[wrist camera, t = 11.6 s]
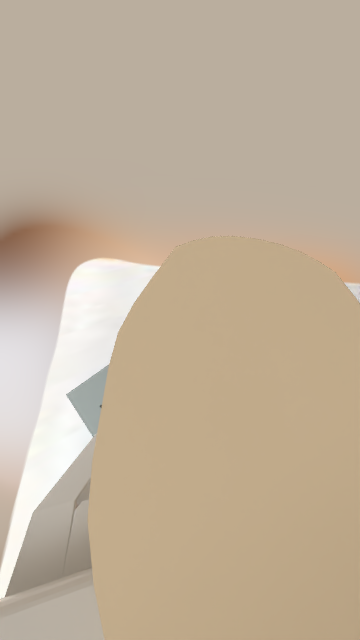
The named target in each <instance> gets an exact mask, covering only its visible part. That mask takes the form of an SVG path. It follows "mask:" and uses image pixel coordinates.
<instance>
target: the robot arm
mask: <svg viewBox="0 0 360 640" xmlns="http://www.w3.org/2000/svg"><path fill="white" fill-rule="evenodd" d="M96 436H97V433H96V434H95V436H94V437H93V438H92V439H91V441H90V442H89V443H88V444H87V446H86V447H85V448H84V449H83V451H82V452H81V453H80V454H79V456H78V457H77V458H76V459H75V461H74V462H73V463H72V464H71V466H70V467H69V468H68V469H67V471H66V472H65V473H64V474H63V476H62V477H61V478H60V479H59V481H58V482H57V483H56V484H55V486H54V487H53V488H52V490H51V491H50V492H49V493H48V495H47V496H46V497H45V498H44V500H43V501H42V502H41V503H40V505H39V506H38V507H37V508H36V510H35V511H34V512H33V514H32V517H31V520H30V523H29V526H28V529H27V532H26V535H25V538H24V541H23V544H22V547H21V550H20V553H19V556H18V559H17V562H16V565H15V568H14V571H13V574H12V577H11V580H10V583H9V586H8V589H7V592H6V595H5V597H4V598H1V599H0V640H104V635H103V630H102V625H101V620H100V615H99V610H98V605H97V600H96V595H95V590H94V583H93V573H92V562H91V552H90V542H89V532H88V522H87V519H88V506H89V494H90V482H91V470H92V460H93V454H94V448H95V442H96Z"/></svg>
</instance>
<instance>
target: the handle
mask: <svg viewBox="0 0 360 640" xmlns="http://www.w3.org/2000/svg"><path fill="white" fill-rule="evenodd" d="M87 522H88V532H89V542H90V552H91V562H92V573H93V583H94V590H95V595H96V600H97V605H98V610H99V615H100V620H101V625H102V630H103V635H104V640H360V303H359V301H358V300H357V299H356V298H355V296H354V295H353V294H352V293H351V291H350V290H349V289H348V288H347V286H346V285H345V284H344V282H343V281H342V280H341V279H340V278H339V276H338V275H337V274H336V272H334V271H333V270H331V269H330V268H328V267H327V266H325V265H324V264H322V263H321V262H319V261H317V260H315V259H313V258H312V257H310V256H308V255H306V254H304V253H302V252H300V251H297V250H294V249H292V248H289V247H286V246H284V245H281V244H277V243H273V242H268V241H264V240H260V239H254V238H245V237H235V236H223V237H222V236H221V237H208V238H204V239H199V240H194V241H191V242H188V243H185V244H182V245H179V246H177V247H175V249H174V250H173V251H172V253H171V254H170V255H169V256H168V258H167V259H166V260H165V262H164V263H163V264H162V266H161V267H160V268H159V269H158V271H157V272H156V273H155V275H154V276H153V277H152V279H151V280H150V282H149V283H148V284H147V286H146V287H145V289H144V290H143V291H142V293H141V294H140V296H139V297H138V298H137V300H136V301H135V303H134V304H133V306H132V308H131V310H130V312H129V313H128V315H127V317H126V319H125V321H124V323H123V325H122V326H121V328H120V330H119V332H118V335H117V339H116V342H115V346H114V350H113V353H112V357H111V360H110V364H109V367H108V373H107V379H106V384H105V390H104V396H103V402H102V408H101V413H100V419H99V425H98V431H97V436H96V442H95V448H94V454H93V460H92V470H91V482H90V494H89V506H88V519H87Z"/></svg>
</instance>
